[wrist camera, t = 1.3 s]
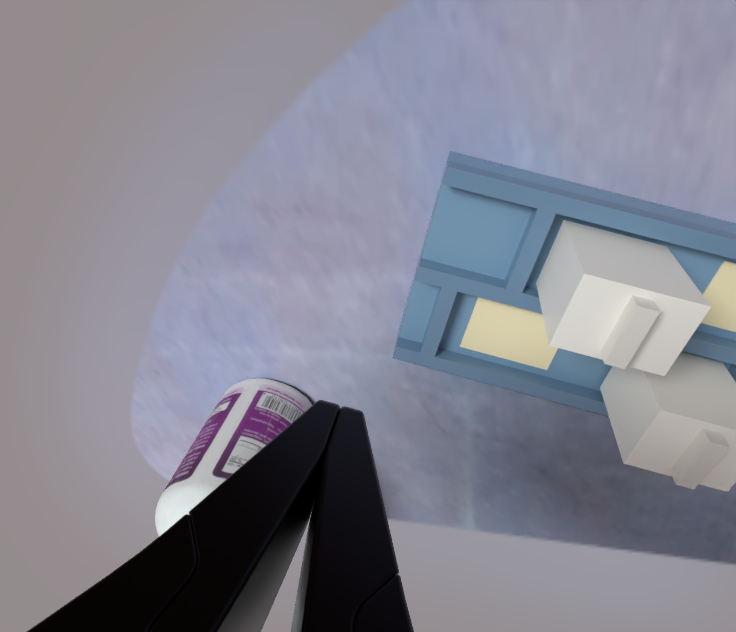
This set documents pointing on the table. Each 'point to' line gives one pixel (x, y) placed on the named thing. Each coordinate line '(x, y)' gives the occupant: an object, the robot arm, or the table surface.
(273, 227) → the table surface
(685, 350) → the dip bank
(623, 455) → the tab far
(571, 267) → the tab near
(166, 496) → the pill bottle
